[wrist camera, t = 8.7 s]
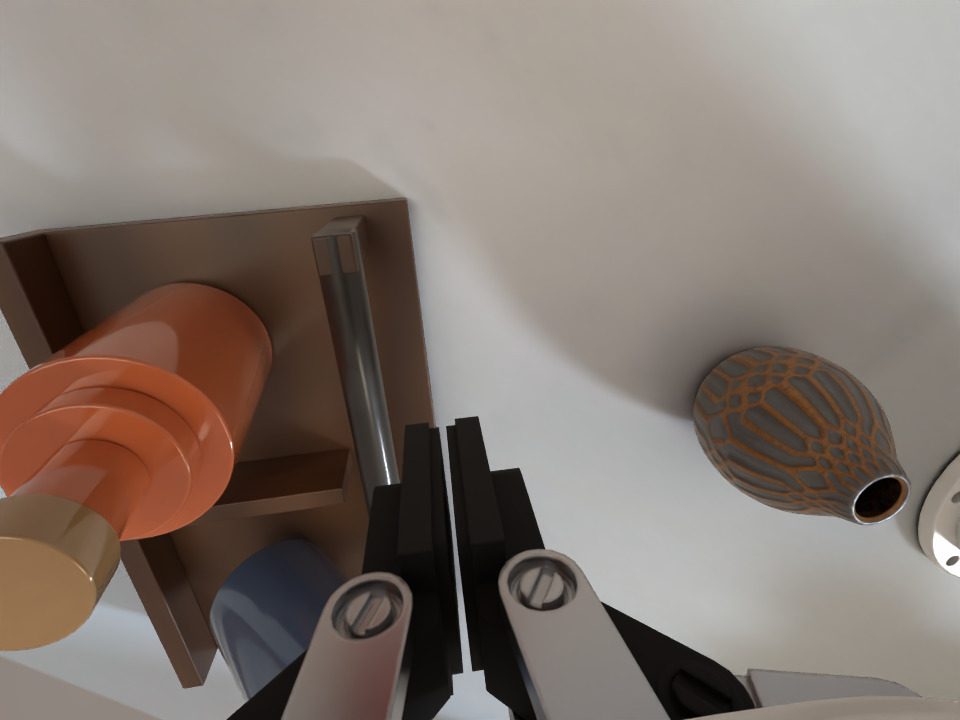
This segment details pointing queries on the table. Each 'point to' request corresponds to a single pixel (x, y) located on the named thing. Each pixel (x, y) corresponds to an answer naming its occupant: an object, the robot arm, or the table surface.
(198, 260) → the rack
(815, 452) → the vase
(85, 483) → the terracotta bottle
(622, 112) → the table surface
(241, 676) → the slate bottle
